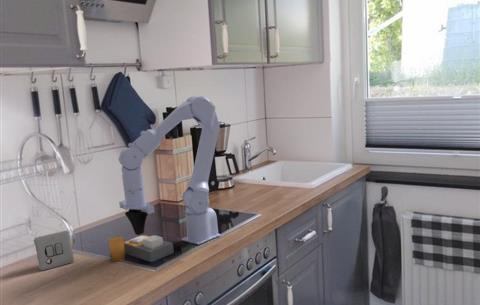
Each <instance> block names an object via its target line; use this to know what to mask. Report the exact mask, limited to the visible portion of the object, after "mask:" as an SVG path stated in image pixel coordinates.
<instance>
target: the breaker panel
mask: <svg viewBox="0 0 480 305" xmlns="http://www.w3.org/2000/svg"><path fill="white" fill-rule="evenodd" d="M141 236H145V237H150V236H149V235H144V234H143V235H142V234H141ZM130 240H131V239H129V240H126V241H124V249H125V255H128V256H131V257H134V258H136V259H140V260H144V261H146V262H149V263H154V262H155V261H158V260H161V259H163V258H165V257H167V256H169V255H172V254H174V253H175V251H174V243H173V242H172V241H171V242H170V241H166V240H164V239H163V245H161V246H159V247H156V248H154V249H150V248H146V247H144V245H143V243H141V244H138V245H136V244H133V243H131V241H130Z"/></svg>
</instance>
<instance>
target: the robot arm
mask: <svg viewBox="0 0 480 305" xmlns="http://www.w3.org/2000/svg"><path fill="white" fill-rule="evenodd" d="M192 119H193V120H195V122H196V123H197V124H198V126H199V128H201V132H200V137H199V142H198V147H197V152H196V156H195V161H194V166H193V169H192V174H191V178H190V180H189V182H188V183H187V187H186V189H185V191H183V193H182V197H181V198H182V202H183V204H184V205H185V206H186V207H185V210H184V215H185V224H186V225H185V226H186V233H187V236H185V237H182V238H181V241H183V242H186V243H189V244H194V245H202V244H204V243H207V242H209V241H210V240H213V239H215V238H217V237H220V236H221V234H220V233H219V228H218V227H219V226H218V217H217V213H216V211H215V210H214V209H213V208H212V207H210V199H209V194H210V193H209V192H210V188H209V178H210V174H211V169H212V166H213V165H212V164H213V159H214V155H215V151H216V150H215V149H216V145H217V142H218V136H219V133H220V129H221V128H220V126H221V125H220V122H219V118H218V115H217V112H216V105H215V104H214V103H213V102H212V101H211V100H210V98H208V97H207V96H202V95H201V96H190V97H189V98H187V99H186V101H183V102H182V103H180V104H179V105H178V106H177V107H176V108H175V109H174V110H172V111H171V113H169V115H167V117H165V118H164V119H163V121H161V122H160V123H159V124H158V125H157V126H156V127H155V128H154V129H146V130H145V131H144V130H142V131H141V132H140V135H139V137H137V138H136V140H134V141H133V142H132V143H131V142H129V143H128V144H127V146H128V147H127V148H124V149H122V150H121V151H120V153H119V155H118V156H119V157H118V161H119V164H120V165H121V173H122V175H121V177H122V184H123V185H122V186H123V192H124V200H120V201H119V202H118V204H119V209H123V210H126V211H125V213H124V214H125V216H126V217H127V218H128V220H129V222H130V225H131V227H132V229H133V232H134V234H135V235H137V236H139V235H140V236H141V235H142V234H143V235H144V233H145V226H146V220H147V218H148V215H150V214H153V213H155V206H154V205H152V204H150V203H149V202H147V200H146V194H145V192H146V191H145V185H144V177H143V172H142V164H143V160H145V159H146V158H147V157H149V156H150V155H151V154H152V153H153V152H154V151H155V150H156V149H157V148H158V147H159V146H160V145H161V144H162V138H163V137H164V136H165V135H167V134H168V133H169V132H170V131H172V129H174V128H175V127H176V126H177V125H179V124H180V123H181V122H182V121H186V120H192ZM127 210H128V211H127Z"/></svg>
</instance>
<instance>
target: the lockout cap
mask: <svg viewBox="0 0 480 305" xmlns="http://www.w3.org/2000/svg"><path fill="white" fill-rule="evenodd" d="M124 242H125V241H124V237H123V236H120V235H119V236H112V237H110V238H109V239H108V245H109V255H110V261H112V262H122V261H124V260H125V259H126V254H125V249H124Z"/></svg>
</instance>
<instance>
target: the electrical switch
mask: <svg viewBox="0 0 480 305" xmlns="http://www.w3.org/2000/svg"><path fill="white" fill-rule="evenodd" d="M33 243H34V246H35V251H36V256H37V262H38V268H39V270H40V271H45V270H50V269H53V268H57V267H60V266H63V265H68V264H72V263H73V262H74V261H75V257H74V252H73V248H72V242H71V238H70V233H69V231H68V230H63V231H59V232H53V233H49V234H46V235H42V236H41V235H40V236H37V237H34V239H33ZM48 261H49V262H48Z"/></svg>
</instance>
